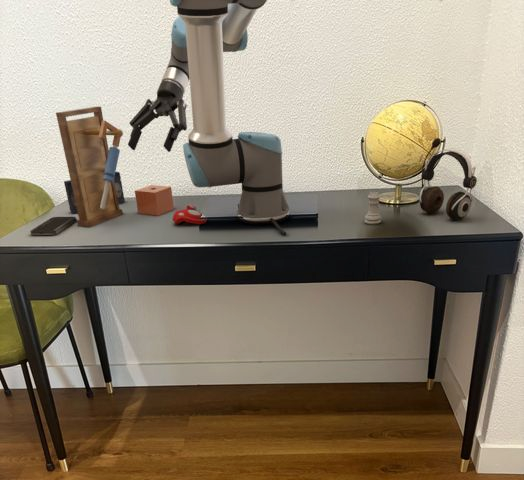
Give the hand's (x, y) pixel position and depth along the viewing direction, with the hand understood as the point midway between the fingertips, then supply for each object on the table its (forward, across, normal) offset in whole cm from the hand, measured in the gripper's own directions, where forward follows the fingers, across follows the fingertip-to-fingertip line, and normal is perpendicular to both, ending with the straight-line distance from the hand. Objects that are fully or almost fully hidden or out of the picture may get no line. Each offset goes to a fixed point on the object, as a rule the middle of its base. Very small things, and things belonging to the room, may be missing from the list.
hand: (148, 148), depth 160 cm
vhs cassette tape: (+16, +22, -11) cm, 29 cm away
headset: (-2, -84, -29) cm, 88 cm away
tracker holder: (+18, -18, -9) cm, 27 cm away
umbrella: (+25, 0, +10) cm, 27 cm away
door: (+23, +5, -3) cm, 24 cm away
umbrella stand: (+14, 0, -13) cm, 19 cm away
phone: (+31, +18, +5) cm, 37 cm away
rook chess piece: (+7, -67, -20) cm, 70 cm away
